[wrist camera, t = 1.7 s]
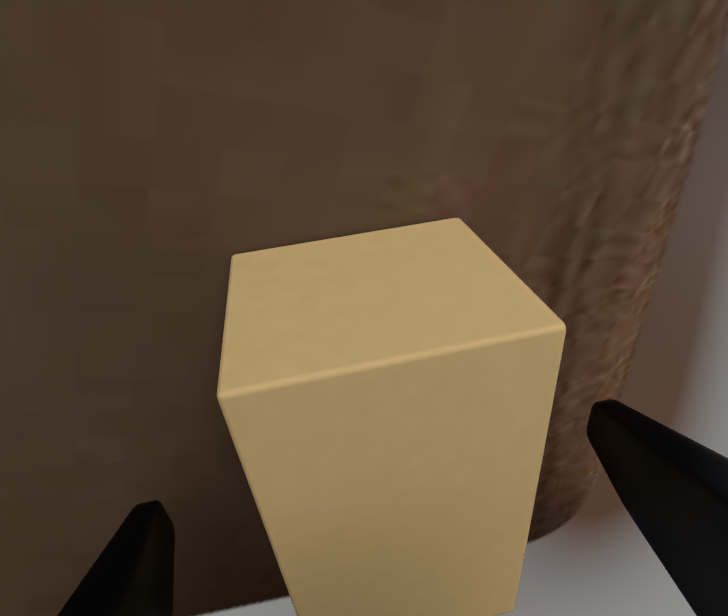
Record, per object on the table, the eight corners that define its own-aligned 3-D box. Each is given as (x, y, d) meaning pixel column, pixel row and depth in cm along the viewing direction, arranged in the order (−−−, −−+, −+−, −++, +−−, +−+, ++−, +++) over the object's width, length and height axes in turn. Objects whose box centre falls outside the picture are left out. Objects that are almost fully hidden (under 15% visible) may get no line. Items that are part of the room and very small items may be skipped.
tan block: (453, 468, 14) (515, 611, 10) (300, 503, 13) (314, 666, 10) (459, 215, 9) (570, 325, 6) (230, 253, 9) (213, 395, 6)
